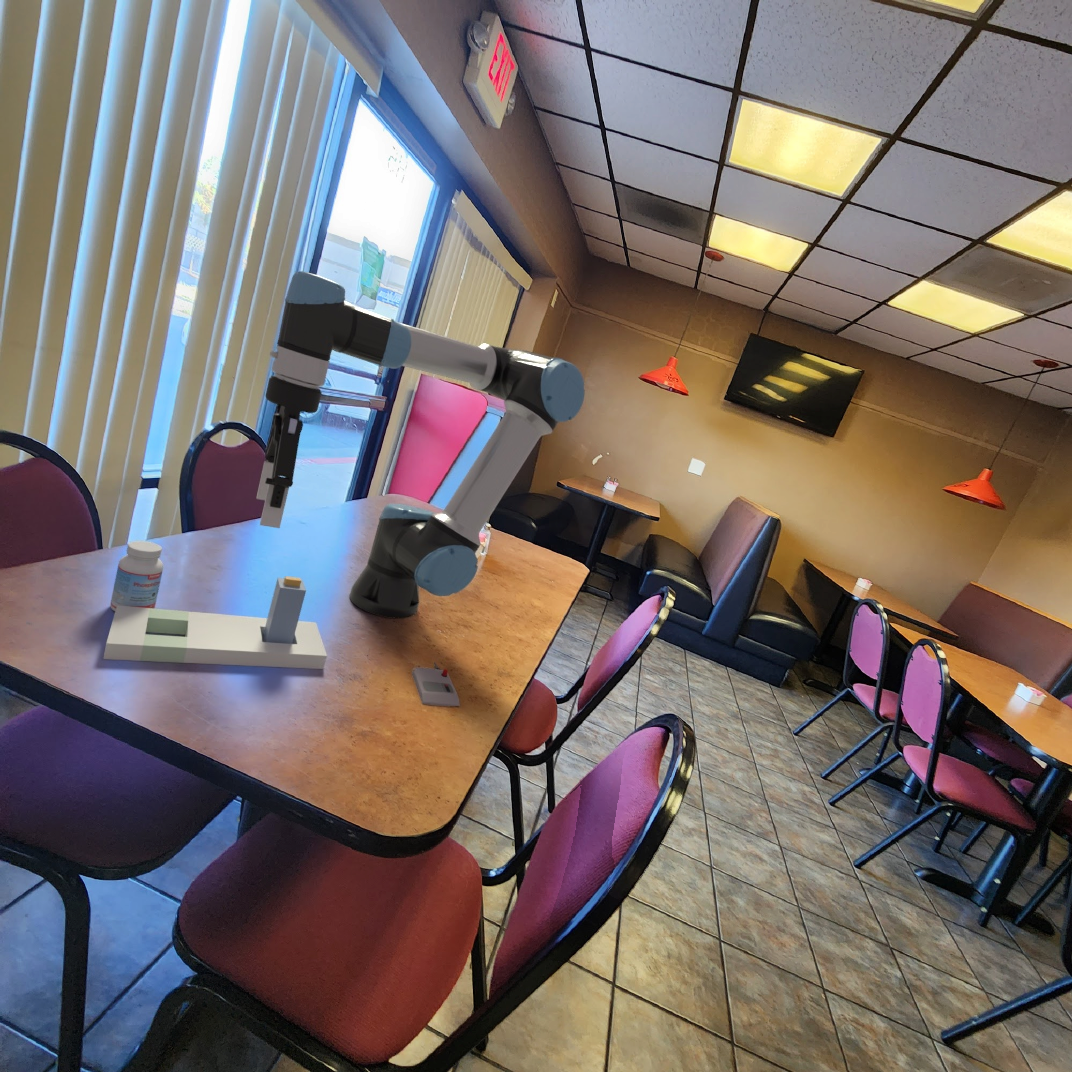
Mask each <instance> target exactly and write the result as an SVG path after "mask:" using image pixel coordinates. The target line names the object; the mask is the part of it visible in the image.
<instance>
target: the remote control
mask: <svg viewBox="0 0 1072 1072" xmlns="http://www.w3.org/2000/svg"><path fill="white" fill-rule="evenodd" d="M433 664H434V668H432V667H425V666H423V667H421V666H420V665H419V664H418V665H417V667H414V668H412V672H411V677H412V679H413V681H414V685H415V687H416V691H417V693H418V697H419V699H420V702H421V704H422V705H427V706H439V707H450V706H459V707H460V698H459V697H460V696H459V694H458V692H457V691H456V688H455V685H454V684H453V682H452V680H451V677H450V675H449V670H448V669H447V668H446V669H445V668H444V669H441V668H439V667H438V665H437V663H436V662H433Z"/></svg>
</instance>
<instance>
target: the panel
mask: <svg viewBox="0 0 1072 1072" xmlns="http://www.w3.org/2000/svg"><path fill="white" fill-rule="evenodd" d="M267 618H268V617H267ZM267 618H266V617H256V616H246V615H244V616H243V615H233V614H223V613H222V614H221V613H210V612H199V611H186V610H176V609H163V608H155V609H154V608H142V607H131V606H119V605H117V608H116V611H114V615H113V618H112V622H111V626H110V629H109V633H108V636H107V639H106V643H105V648H104V654H103V660H113V661H131V662H132V661H134V662H135V661H137V662H159V663H162V662H163V663H180V664H181V663H182V664H202V665H204V664H206V665H224V666H225V665H226V666H245V667H246V666H247V667H269V668H270V667H271V668H290V669H291V668H292V669H314V670H324V668H325V664H326V661H327V657H328V653H327V652H326V648H325V645H324V643H323V640H322V636H321V633H320V630H319V627H318V624H317V622H313V621H302V620H298V623H297V627H296V631H295V635H294V638H293V642H292V644H285V643H270V642H262V638H263V634H264V630H265V626H266V622H267ZM147 633H155V634H147ZM160 634H167V635H160ZM168 634H171V635H168ZM175 635H176V636H175ZM177 635H182V636H177Z"/></svg>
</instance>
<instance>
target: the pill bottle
mask: <svg viewBox="0 0 1072 1072" xmlns="http://www.w3.org/2000/svg"><path fill="white" fill-rule="evenodd" d="M126 547H127V548H126V554H125V555H124V556H122V557H121V558H120V559H119V560H118V564H117V568H116V569H117V570H116V574H115V579H114V583H113V590H112V595H111V600H110V605H109V606H110V609H111V610H112V611H113V612H115V611H116V608H117V605H119V606H131V607H142V608H154V609H156V604H157V599H158V594H159V590H160V585H161V580H162V575H163V570H164V563H163V562H162V560H161V559H160V558H161V555H162V551H163V547H162V546H161V545H159V544H157V543H156V542H153V541H147V540H134V541H130V542H128V544H127V546H126Z"/></svg>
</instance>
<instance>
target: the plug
mask: <svg viewBox="0 0 1072 1072" xmlns="http://www.w3.org/2000/svg"><path fill="white" fill-rule="evenodd" d="M306 592H307V589H306V586H305V583H304V581H303V580H302V579H301V577H294V576H287V575H285V576H284V578H282V577H277V579H276V584H275V587H274V591H273V594H272V595H273V596H272V599H271V602H270V607H269V610H268V615H267V622H266V626H265V630H264V634H263V638H262V642H270V643H285V644H292V642H293V638H294V635H295V631H296V627H297V623H298V621H299V618H300V615H301V611H302V608H303V604H304V600H305V596H306Z"/></svg>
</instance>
